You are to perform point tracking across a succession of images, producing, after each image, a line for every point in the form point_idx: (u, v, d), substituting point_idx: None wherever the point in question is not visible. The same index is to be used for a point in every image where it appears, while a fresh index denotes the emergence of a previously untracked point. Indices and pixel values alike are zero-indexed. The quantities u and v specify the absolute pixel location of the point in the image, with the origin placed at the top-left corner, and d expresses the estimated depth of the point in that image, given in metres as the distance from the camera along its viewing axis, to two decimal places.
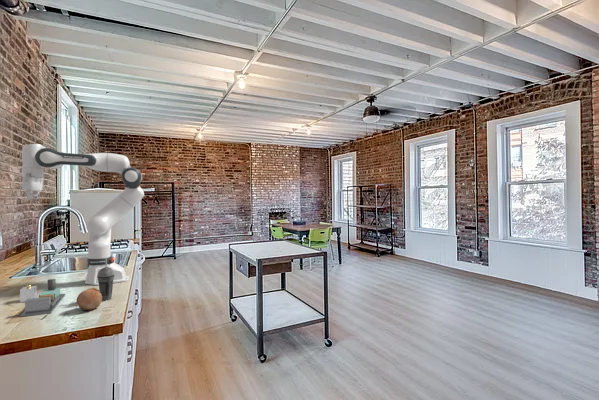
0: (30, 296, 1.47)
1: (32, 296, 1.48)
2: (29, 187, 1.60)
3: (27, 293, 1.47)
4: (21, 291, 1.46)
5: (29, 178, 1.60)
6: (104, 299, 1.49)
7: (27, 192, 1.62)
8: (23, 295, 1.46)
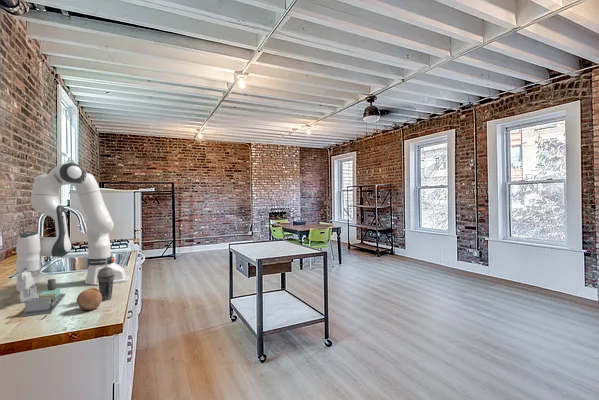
0: (30, 295, 1.47)
1: (32, 296, 1.48)
2: (24, 287, 1.41)
3: None
4: (21, 291, 1.46)
5: (24, 276, 1.41)
6: (104, 299, 1.49)
7: (23, 290, 1.44)
8: None
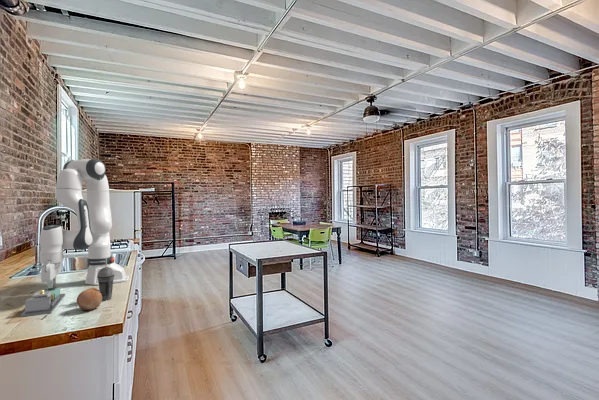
0: None
1: None
2: (49, 278, 1.44)
3: None
4: None
5: (49, 268, 1.44)
6: (104, 299, 1.49)
7: None
8: None
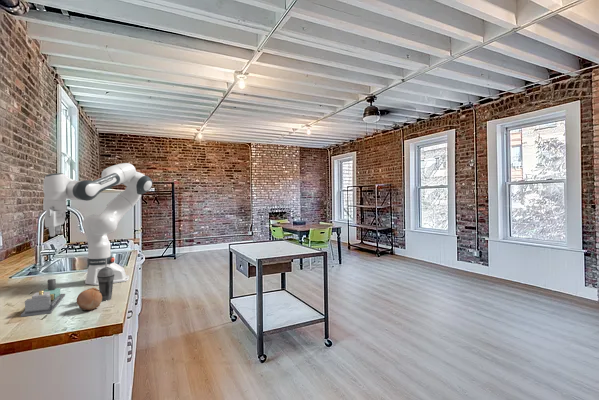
0: None
1: None
2: (52, 223, 1.42)
3: None
4: None
5: (52, 213, 1.42)
6: (104, 299, 1.49)
7: (50, 228, 1.44)
8: None
